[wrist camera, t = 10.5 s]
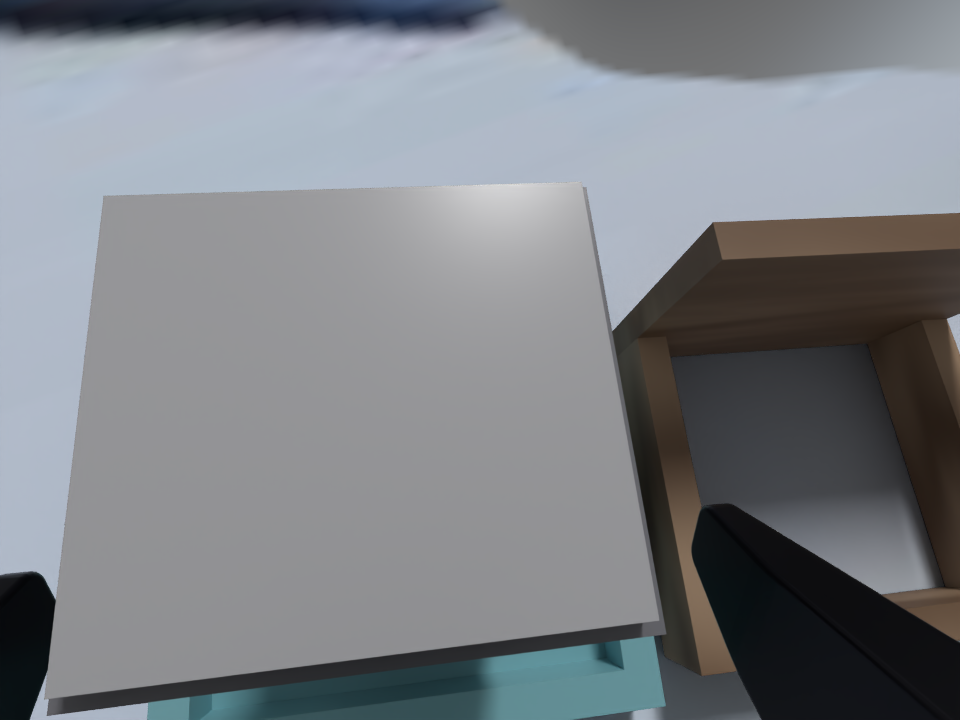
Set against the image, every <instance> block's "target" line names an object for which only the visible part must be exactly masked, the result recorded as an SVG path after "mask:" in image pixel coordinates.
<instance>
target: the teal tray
mask: <svg viewBox="0 0 960 720" xmlns="http://www.w3.org/2000/svg"><path fill="white" fill-rule="evenodd" d="M664 706H666V704H665V699H664V693H663V687H662V681H661V675H660V669H659V664H658V658H657V652H656V646H655V640H654V636H650V637H642V638H635V639H627V640H620V641H612V642H604V643H597V644H589V645H582V646H574V647H566V648H559V649H551V650H544V651H536V652H528V653H521V654H513V655H506V656H498V657H490V658H483V659H475V660H468V661H460V662H452V663H445V664H437V665H430V666H422V667H415V668H407V669H399V670H392V671H384V672H377V673H369V674H361V675H354V676H346V677H339V678H331V679H323V680H316V681H308V682H301V683H293V684H285V685H278V686H270V687H263V688H255V689H247V690H240V691H232V692H225V693H217V694H209V695H202V696H194V697H187V698H179V699H171V700H164V701H156V702H149V703H148V715H147V720H574V719H581V718H588V717H595V716H602V715H609V714H615V713H622V712H629V711H636V710H643V709H650V708H657V707H664Z"/></svg>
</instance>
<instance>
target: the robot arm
mask: <svg viewBox="0 0 960 720" xmlns="http://www.w3.org/2000/svg"><path fill="white" fill-rule="evenodd" d="M691 554H692V559H693V563H694V565H695V568H696V570H697V573H698V576H699V578H700V581H701V583H702V586H703V588H704V591H705V593H706V596H707V599H708V601H709V604H710V606H711V609H712V611H713V614H714V616H715V619H716V621H717V624H718V627H719V629H720V632H721V634H722V637H723V639H724V642H725V644H726V647H727V649H728V652H729V654H730V656H731V659H732V661H733V663H734V666H735V668H736V670H737V672H738V674H739V676H740V678H741V680H742V682H743V684H744V686H745V688H746V690H747V692H748V694H749V696H750V698H751V700H752V702H753V704H754V706H755V708H756V710H757V712H758V714H759V716H760V718H761V720H960V642H958V641H956V640H955V639H953V638H952V637H950V636H948V635H947V634H945V633H943V632H942V631H940V630H938V629H937V628H935V627H933V626H932V625H930V624H929V623H927V622H925V621H924V620H922V619H920V618H919V617H917V616H915V615H914V614H912V613H910V612H909V611H907V610H906V609H904V608H902V607H901V606H899V605H897V604H896V603H894V602H892V601H891V600H889V599H887V598H886V597H884V596H882V595H881V594H879V593H878V592H876V591H874V590H873V589H871V588H869V587H868V586H866V585H864V584H863V583H861V582H859V581H858V580H856V579H855V578H853V577H851V576H850V575H848V574H846V573H845V572H843V571H841V570H840V569H838V568H836V567H835V566H833V565H832V564H830V563H828V562H827V561H825V560H823V559H822V558H820V557H818V556H817V555H815V554H813V553H812V552H810V551H809V550H807V549H805V548H804V547H802V546H800V545H799V544H797V543H795V542H794V541H792V540H790V539H789V538H787V537H785V536H784V535H782V534H781V533H779V532H777V531H776V530H774V529H772V528H771V527H769V526H767V525H766V524H764V523H762V522H761V521H759V520H758V519H756V518H754V517H753V516H751V515H749V514H748V513H746V512H744V511H743V510H741V509H739V508H738V507H736V506H734V505H732V504H727V503H724V504H714V505H706V506H703V507H702V509H701V510H700V512H699V515H698V519H697V523H696V528H695V532H694V536H693V540H692V545H691ZM55 604H56V600H55V598H54V596H53V594H52V592H51V590H50V588H49V586H48V585H47V583H46V581H45V579H44V577H43V576H42V575H41V574H39V573H37V572H33V571H31V572H20V573H10V574H4V575H0V720H30V717H31V714H32V712H33V709H34V706H35V703H36V701H37V698H38V695H39V692H40V690H41V687H42V684H43V682H44V679H45V676H46V673H47V671H48V664H49V655H50V647H51V638H52V630H53V621H54V613H55Z"/></svg>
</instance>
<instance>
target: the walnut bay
mask: <svg viewBox="0 0 960 720" xmlns="http://www.w3.org/2000/svg"><path fill="white" fill-rule="evenodd" d="M957 314H960V213H949V214H923V215H896V216H869V217H843V218H816V219H790V220H763V221H737V222H713V223H712V224H711V225H710V226H709V227H708V228H707V229H706V231H705V232H704V233H703V234H702V235H701V236H700V237H699V238H698V239H697V240H696V241H695V242H694V244H693V245H692V246H691V247H690V248H689V249H688V250H687V251H686V252H685V253H684V254H683V255H682V257H681V258H680V259H679V260H678V261H677V262H676V263H675V264H674V265H673V266H672V267H671V269H670V270H669V271H668V272H667V273H666V274H665V275H664V276H663V277H662V278H661V279H660V280H659V282H658V283H657V284H656V285H655V286H654V287H653V288H652V289H651V290H650V291H649V292H648V293H647V295H646V296H645V297H644V298H643V299H642V300H641V301H640V302H639V303H638V304H637V305H636V306H635V308H634V309H633V310H632V311H631V312H630V313H629V314H628V315H627V316H626V317H625V318H624V320H623V321H622V322H621V323H620V324H619V325H618V326H617V327H616V328H615V329H614V330H613V331H612V334H613V340H614V345H615V351H616V356H617V362H618V367H619V373H620V378H621V384H622V390H623V395H624V401H625V406H626V412H627V417H628V423H629V429H630V434H631V440H632V445H633V451H634V456H635V462H636V467H637V473H638V479H639V484H640V490H641V495H642V501H643V506H644V512H645V517H646V523H647V529H648V534H649V540H650V545H651V551H652V556H653V562H654V567H655V573H656V579H657V584H658V590H659V595H660V601H661V606H662V612H663V617H664V623H665V629H666V634H665V635H661V637H662V643H663V649H664V654H665V657H666V658H668V659H670V660H672V661H674V662H676V663H678V664H680V665H682V666H684V667H686V668H687V669H689V670H691V671H693V672H695V673H697V674H699V675H701V676H706V675H713V674H720V673H728V672H735V671H737V670H736V668H735V666H734V663H733V661H732V659H731V656H730V654H729V652H728V649H727V647H726V644H725V642H724V639H723V637H722V634H721V632H720V629H719V627H718V624H717V621H716V619H715V616H714V614H713V611H712V609H711V606H710V604H709V601H708V599H707V596H706V593H705V591H704V588H703V586H702V583H701V581H700V578H699V576H698V573H697V570H696V568H695V565H694V563H693V559H692V554H691V545H692V540H693V536H694V532H695V528H696V523H697V519H698V515H699V512H700V510H701V509H702V507H701V502H700V498H699V493H698V488H697V483H696V478H695V474H694V469H693V464H692V459H691V454H690V450H689V445H688V440H687V435H686V430H685V425H684V421H683V416H682V411H681V406H680V401H679V397H678V392H677V387H676V382H675V377H674V373H673V368H672V363H671V358H670V357H676V356H691V355H706V354H721V353H736V352H750V351H765V350H780V349H795V348H810V347H825V346H839V345H854V344H868V347H869V350H870V353H871V356H872V359H873V363H874V366H875V369H876V372H877V375H878V378H879V381H880V384H881V388H882V391H883V394H884V397H885V400H886V403H887V406H888V409H889V412H890V416H891V419H892V422H893V425H894V428H895V431H896V434H897V437H898V441H899V444H900V447H901V450H902V453H903V456H904V459H905V462H906V465H907V469H908V472H909V475H910V478H911V481H912V484H913V487H914V490H915V493H916V497H917V500H918V503H919V506H920V509H921V512H922V515H923V518H924V522H925V525H926V528H927V531H928V534H929V537H930V540H931V543H932V546H933V550H934V553H935V556H936V559H937V562H938V565H939V568H940V571H941V575H942V578H943V581H944V584H945V587H938V588H930V589H922V590H914V591H906V592H898V593H890V594H882V596H884V597H886V598H887V599H889V600H891V601H892V602H894V603H896V604H897V605H899V606H901V607H902V608H904V609H906V610H907V611H909V612H910V613H912V614H914V615H915V616H917V617H919V618H920V619H922V620H924V621H925V622H927V623H929V624H930V625H932V626H933V627H935V628H937V629H938V630H940V631H942V632H943V633H945V634H947V635H948V636H950V637H952V638H953V639H955V640H956V641H957V640H960V354H959V351H958V348H957V345H956V343H955V340H954V337H953V335H952V332H951V329H950V327H949V324H948V321H947V318H950V317H952V316H955V315H957Z"/></svg>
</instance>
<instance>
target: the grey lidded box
mask: <svg viewBox="0 0 960 720" xmlns="http://www.w3.org/2000/svg"><path fill="white" fill-rule="evenodd" d="M665 634H666V629H665V623H664V617H663V612H662V606H661V601H660V595H659V590H658V584H657V579H656V573H655V567H654V562H653V556H652V551H651V545H650V540H649V534H648V529H647V523H646V517H645V512H644V506H643V501H642V495H641V490H640V484H639V479H638V473H637V467H636V462H635V456H634V451H633V445H632V440H631V434H630V429H629V423H628V417H627V412H626V406H625V401H624V395H623V390H622V384H621V378H620V373H619V367H618V362H617V356H616V351H615V345H614V340H613V334H612V328H611V323H610V317H609V312H608V306H607V301H606V295H605V290H604V284H603V278H602V273H601V267H600V262H599V256H598V251H597V245H596V240H595V234H594V228H593V223H592V217H591V212H590V206H589V201H588V195H587V190H586V187H582V182H561V183H527V184H493V185H459V186H425V187H391V188H358V189H324V190H290V191H256V192H222V193H188V194H154V195H120V196H104V198H103V206H102V215H101V223H100V232H99V240H98V248H97V257H96V265H95V274H94V282H93V291H92V299H91V308H90V316H89V325H88V333H87V342H86V350H85V359H84V367H83V376H82V384H81V393H80V401H79V409H78V418H77V426H76V435H75V443H74V452H73V460H72V469H71V477H70V486H69V494H68V503H67V511H66V520H65V528H64V537H63V545H62V553H61V562H60V570H59V579H58V587H57V596H56V604H55V613H54V621H53V630H52V638H51V647H50V655H49V664H48V672H47V681H46V689H45V698H44V699H49V702H48V711H47V716H50V715H57V714H65V713H73V712H80V711H88V710H95V709H103V708H111V707H118V706H126V705H133V704H141V703H149V702H156V701H164V700H171V699H179V698H187V697H194V696H202V695H209V694H217V693H225V692H232V691H240V690H247V689H255V688H263V687H270V686H278V685H285V684H293V683H301V682H308V681H316V680H323V679H331V678H339V677H346V676H354V675H361V674H369V673H377V672H384V671H392V670H399V669H407V668H415V667H422V666H430V665H437V664H445V663H452V662H460V661H468V660H475V659H483V658H490V657H498V656H506V655H513V654H521V653H528V652H536V651H544V650H551V649H559V648H566V647H574V646H582V645H589V644H597V643H604V642H612V641H620V640H627V639H635V638H642V637H650V636H658V635H665Z"/></svg>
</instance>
